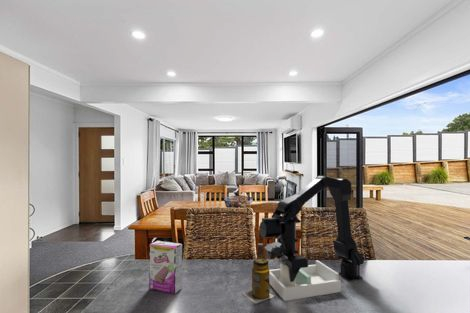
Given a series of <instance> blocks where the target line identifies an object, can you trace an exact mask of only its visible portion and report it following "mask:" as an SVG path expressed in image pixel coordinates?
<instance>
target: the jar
mask: <svg viewBox="0 0 470 313" xmlns="http://www.w3.org/2000/svg"><path fill="white" fill-rule="evenodd" d="M287 259H288V258H287V257H285V256H282V257H280V262H279V269H280V282H281V283H282V284H283V285H284V286H285V287H288V286H295V285H296V277H295V279H294V281H293V282H291V281H290V277H289V268H288V267H287V266H286V265H285V263H287Z"/></svg>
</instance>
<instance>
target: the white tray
mask: <svg viewBox="0 0 470 313" xmlns="http://www.w3.org/2000/svg"><path fill="white" fill-rule="evenodd" d="M300 269H302V270H303V271H304V272H306V273H307V274H308V275H309V276H311V283H309V284H302V285H300V284H299V283H298V282H297V281H296V285H295V286H288V287H285V286H284V285H283V284H282V283H281V282H280V268H276V269H275V268H274V269H269V272H270V273H269V285H270V286H271V287H272V288H273V290H274V291H275V292H276V293H277V295H279V297H280V298H281V299H282V300H283V301H284V302H286V301H291V300H296V299H297V300H298V299H299V300H300V299H304V298H311V297H317V296H324V295H330V294H335V293H341V292H342V286H341V285H342V283H341V279H340V274H339V272H337V271H336V270H333V268H331V267H329V266H327V265H326V264H325V263H323V262H321V261H320V260H315V263H314V264H308V267H305V268H300Z"/></svg>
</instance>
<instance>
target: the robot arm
mask: <svg viewBox="0 0 470 313" xmlns="http://www.w3.org/2000/svg"><path fill="white" fill-rule="evenodd" d="M325 188H327V189H329V194H330V195H331V197H332V199H333V200H334V208H335V219H336V227H337V237H336V238H335V239H333V240H332V242H333V250H334V252H335V253H336V256H337V258H338V259H340V271H339V272H338V274H339V276H342V277H344V279H346V280H348V281H355V280H361V279H363V276H361V275H360V271H361V270H360V266H362V265H364V260H365V258H364V257H363V256H362V255H361V254H360V252H359V249H358V245H357V242H356V241H355V240H354V238H353V236H352V229H351V219H350V216H351V215H350V209H349V199H350V197H351V195H352V182H351V181H350V180H349V179H347V178H341V177H328V176H327V175H318V176H316V177H315V179H313V180H312V181H311V182H309V183H308V184H307V185H306V186H304V187H303V188H302V189H301V190H299V191H298V192H296V193H295V194H294V195H291V196H290V195H289V196H288V197H285V198H283V199H281V200H280V201H279V202H278V203H277V207H276V208H275V210H274V212H273V213H272V215H271V217H262V218H261V222H260V224H259V226H258V228H259V235H260V238H262V239H268V238H276V241H274V242H272V243H269V244H267V245H266V246H264V250H265V253H266V257H268V258H269V259H271V260H274V259H276V258H277V259H278V262H279V263H280V257H282V256H285V257H287V258H288V259H287V263H285V265H286V266H287V267H288V268H289V277H290V281H291V282H293V281H294V279H295V277H296V275H297V273H298V272H299V270H300V268H305V267H308V265H309V260H308V259H307V258H306V257H305V256H303V255H302V254H299V250H298V249H297V247H296V244H297V243H298V242H299V239H298V238H297V237H296V235H297V234H296V231H297V230H296V227H297V226H296V224H299V223H301V222H302V221H301V220H300V218H298V216H297V215H299V213H300V212H301V211H302V209H303V207H304V205H305V204H306V203H307V202H308V201H310V200H312V198H313V197H315V196H317V194H318V193H320V192H321V191H322V190H323V189H325Z"/></svg>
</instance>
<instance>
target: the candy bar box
mask: <svg viewBox="0 0 470 313" xmlns="http://www.w3.org/2000/svg"><path fill="white" fill-rule="evenodd" d="M148 264H149V268H148V269H149V273H148V274H149V278H148V286H149V287H148V289H149V290H152V291H158V292H163V293H166V294H173V295H176V294H177V293H178V292H180V291H181V289H183V244H182V243H179V242H177V243H176V242H171V241H162V240H156V241H154V242H151V243H150V244H149V263H148Z"/></svg>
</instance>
